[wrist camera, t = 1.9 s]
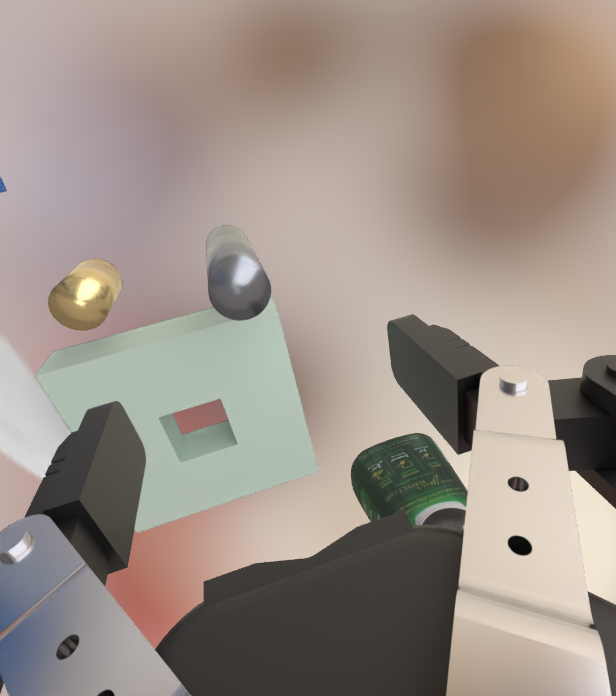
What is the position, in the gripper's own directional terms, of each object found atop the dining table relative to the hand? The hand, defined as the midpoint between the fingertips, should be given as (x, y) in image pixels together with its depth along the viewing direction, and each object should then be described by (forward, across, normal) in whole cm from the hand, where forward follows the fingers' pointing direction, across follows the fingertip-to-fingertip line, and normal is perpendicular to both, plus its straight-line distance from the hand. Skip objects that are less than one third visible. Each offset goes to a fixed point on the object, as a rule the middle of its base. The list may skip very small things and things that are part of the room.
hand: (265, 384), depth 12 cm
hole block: (+19, +6, +12) cm, 23 cm away
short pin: (+18, +9, 0) cm, 21 cm away
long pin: (+18, 0, 0) cm, 19 cm away
